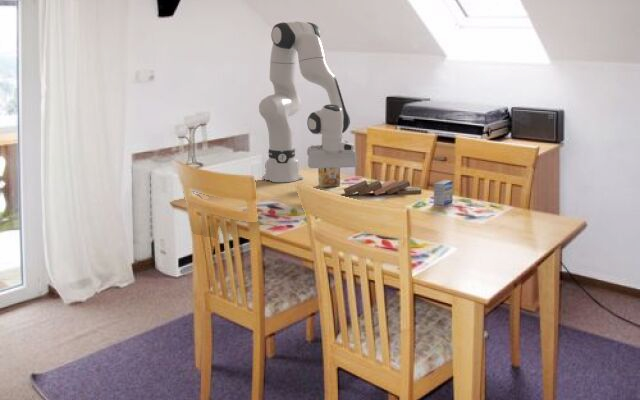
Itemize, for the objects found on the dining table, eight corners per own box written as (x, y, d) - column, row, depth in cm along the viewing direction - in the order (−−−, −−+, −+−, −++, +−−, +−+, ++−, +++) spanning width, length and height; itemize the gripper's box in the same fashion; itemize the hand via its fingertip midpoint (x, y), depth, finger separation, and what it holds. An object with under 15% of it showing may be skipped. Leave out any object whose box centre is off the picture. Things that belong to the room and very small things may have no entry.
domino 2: (356, 188, 309) (378, 179, 309) (358, 193, 310) (380, 184, 310) (358, 191, 305) (380, 182, 304) (359, 195, 305) (382, 187, 305)
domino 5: (395, 188, 311) (418, 187, 312) (395, 192, 312) (418, 191, 313) (398, 190, 306) (421, 189, 308) (397, 195, 307) (421, 194, 308)
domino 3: (371, 188, 309) (393, 178, 310) (373, 192, 310) (394, 182, 310) (374, 191, 305) (396, 181, 305) (375, 195, 305) (397, 185, 305)
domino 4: (383, 187, 310) (405, 179, 311) (385, 192, 311) (406, 183, 312) (386, 190, 305) (409, 181, 306) (388, 194, 306) (410, 185, 307)
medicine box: (443, 206, 288) (444, 184, 286) (433, 204, 291) (433, 183, 289) (452, 201, 294) (453, 180, 292) (442, 200, 297) (443, 179, 295)
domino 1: (343, 189, 309) (365, 180, 309) (345, 193, 310) (367, 184, 309) (344, 191, 304) (367, 182, 304) (346, 196, 305) (368, 187, 305)
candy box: (321, 187, 320) (320, 152, 316) (318, 185, 324) (317, 151, 320) (340, 186, 322) (340, 151, 318) (337, 183, 326) (337, 149, 322)
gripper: (307, 147, 298) (308, 180, 301) (357, 145, 299) (357, 179, 303) (306, 144, 304) (306, 176, 307) (355, 143, 305) (355, 175, 309)
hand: (332, 178), depth 305 cm, fingers closed
